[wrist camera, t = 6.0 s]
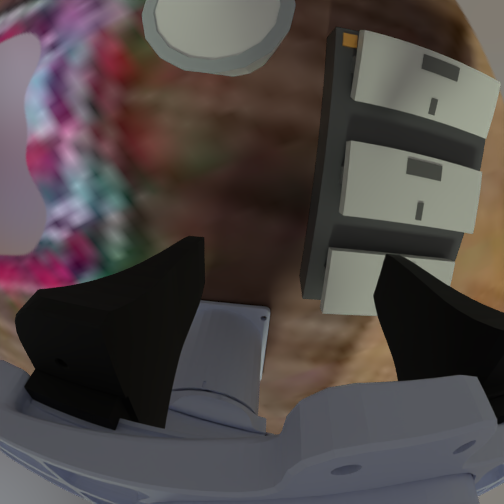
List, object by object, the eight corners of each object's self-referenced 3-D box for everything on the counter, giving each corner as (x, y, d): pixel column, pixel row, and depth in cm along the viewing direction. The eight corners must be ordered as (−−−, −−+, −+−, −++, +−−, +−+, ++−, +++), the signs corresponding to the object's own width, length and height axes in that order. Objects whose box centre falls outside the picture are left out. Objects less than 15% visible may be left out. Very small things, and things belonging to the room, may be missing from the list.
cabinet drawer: (478, 133, 14) (486, 139, 13) (350, 96, 14) (355, 101, 13) (491, 78, 11) (501, 83, 10) (359, 29, 11) (365, 30, 11)
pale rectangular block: (435, 311, 19) (442, 316, 18) (319, 307, 19) (322, 313, 18) (447, 258, 18) (455, 262, 17) (328, 247, 18) (332, 250, 17)
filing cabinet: (425, 284, 23) (441, 308, 20) (299, 275, 23) (303, 302, 20) (469, 80, 15) (496, 80, 12) (327, 38, 15) (338, 24, 12)
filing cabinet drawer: (464, 230, 16) (473, 234, 15) (338, 212, 16) (343, 215, 15) (473, 170, 15) (482, 172, 14) (346, 141, 15) (351, 140, 14)
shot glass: (309, 40, 15) (329, 7, 9) (232, 106, 18) (212, 105, 12) (235, -22, 13) (219, -71, 7) (161, 43, 16) (113, 21, 10)
